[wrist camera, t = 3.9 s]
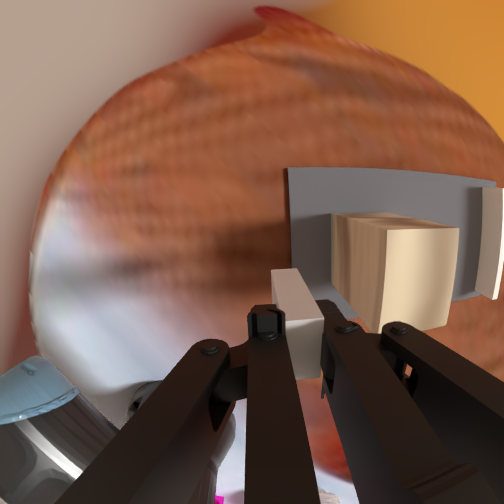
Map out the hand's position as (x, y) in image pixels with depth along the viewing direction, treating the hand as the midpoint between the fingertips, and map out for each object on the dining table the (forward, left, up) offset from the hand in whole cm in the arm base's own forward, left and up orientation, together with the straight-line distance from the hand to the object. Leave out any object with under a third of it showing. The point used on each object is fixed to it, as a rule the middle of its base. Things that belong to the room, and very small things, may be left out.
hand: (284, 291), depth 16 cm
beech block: (+9, 0, -11) cm, 14 cm away
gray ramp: (+17, 0, -11) cm, 20 cm away
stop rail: (+29, 0, -11) cm, 31 cm away
